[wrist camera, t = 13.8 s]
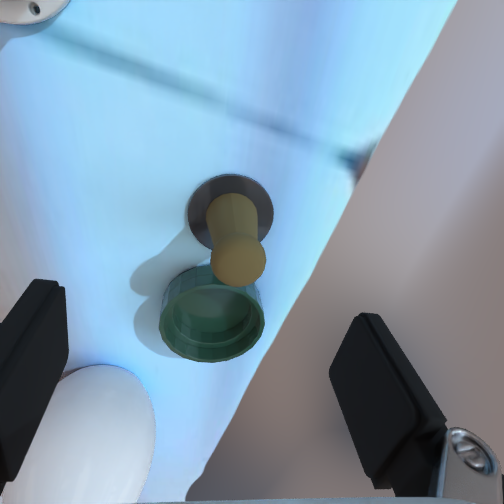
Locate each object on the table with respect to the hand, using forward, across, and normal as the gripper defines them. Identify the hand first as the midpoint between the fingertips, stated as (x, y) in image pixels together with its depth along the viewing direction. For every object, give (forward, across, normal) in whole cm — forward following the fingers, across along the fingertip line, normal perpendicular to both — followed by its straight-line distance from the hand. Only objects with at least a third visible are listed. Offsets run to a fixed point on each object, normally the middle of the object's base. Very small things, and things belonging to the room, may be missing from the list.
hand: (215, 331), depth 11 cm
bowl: (+28, -4, +22) cm, 36 cm away
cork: (+28, -4, +8) cm, 30 cm away
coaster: (+28, -4, +8) cm, 30 cm away
